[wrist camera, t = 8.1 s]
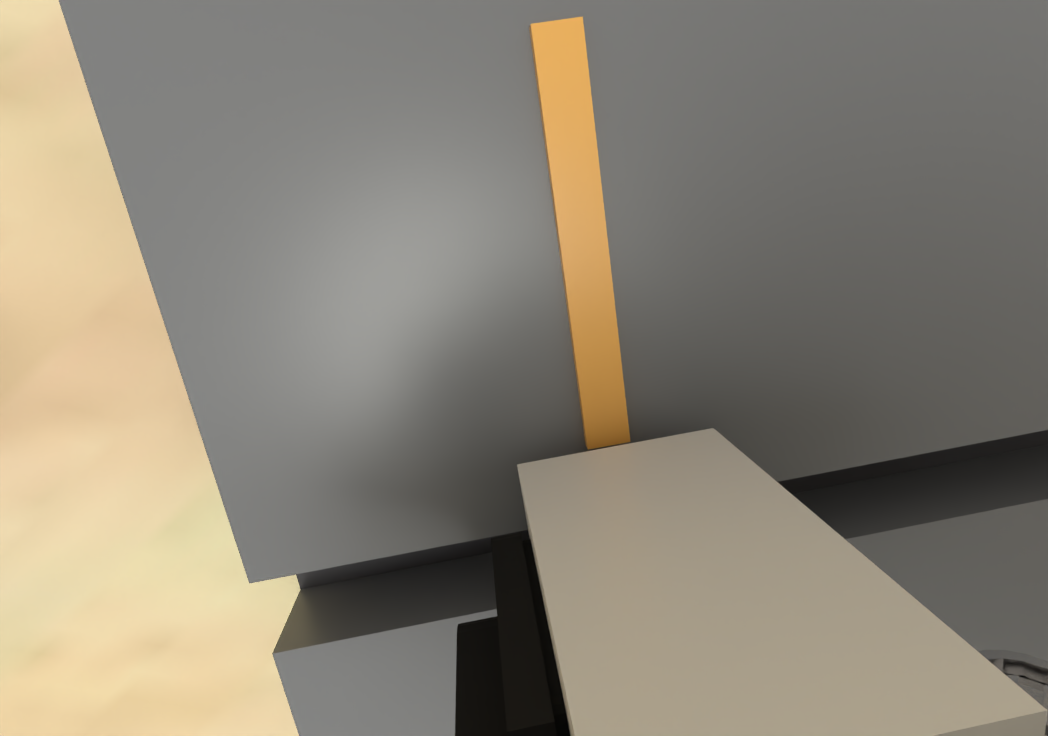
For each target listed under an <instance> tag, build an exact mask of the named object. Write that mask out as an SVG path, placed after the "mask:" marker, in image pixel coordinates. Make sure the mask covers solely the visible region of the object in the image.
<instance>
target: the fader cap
mask: <svg viewBox="0 0 1048 736" xmlns="http://www.w3.org/2000/svg"><path fill="white" fill-rule="evenodd" d="M517 467H518V473H519V479H520V485H521V491H522V497H523V502H524V508H525V514H526V520H527V526H528V532H529V538H530V539H531V544H532V549H533V554H534V558H535V563H536V568H537V573H538V578H539V583H540V588H541V592H542V597H543V602H544V607H545V612H546V617H547V622H548V626H549V631H550V636H551V641H552V646H553V651H554V656H555V660H556V665H557V670H558V675H559V680H560V685H561V689H562V694H563V699H564V704H565V709H566V715H567V720H568V726H569V731H570V736H1045V728H1046V719H1047V709H1045V708H1044V707H1043V706H1042V705H1041V704H1039V703H1038V702H1037V701H1036V700H1035V699H1034V698H1032V697H1031V696H1030V695H1029V694H1028V693H1026V692H1025V691H1024V690H1023V689H1022V688H1021V687H1019V686H1018V685H1017V684H1016V683H1015V682H1013V681H1012V680H1011V679H1010V678H1009V677H1007V676H1006V675H1005V674H1004V673H1003V672H1002V671H1000V670H999V669H998V668H997V667H996V666H994V665H993V664H992V663H991V662H990V661H989V660H987V659H986V658H985V657H984V656H983V655H981V654H980V653H979V652H978V651H977V650H976V649H974V648H973V647H972V646H971V645H970V644H968V643H967V642H966V641H965V640H964V639H963V638H961V637H960V636H959V635H958V634H957V633H955V632H954V631H953V630H952V629H951V628H949V627H948V626H947V625H946V624H945V623H944V622H942V621H941V620H940V619H939V618H938V617H936V616H935V615H934V614H933V613H932V612H931V611H929V610H928V609H927V608H926V607H925V606H923V605H922V604H921V603H920V602H919V601H918V600H916V599H915V598H914V597H913V596H912V595H910V594H909V593H908V592H907V591H906V590H905V589H903V588H902V587H901V586H900V585H899V584H897V583H896V582H895V581H894V580H893V579H891V578H890V577H889V576H888V575H887V574H886V573H884V572H883V571H882V570H881V569H880V568H878V567H877V566H876V565H875V564H874V563H873V562H871V561H870V560H869V559H868V558H867V557H865V556H864V555H863V554H862V553H861V552H860V551H858V550H857V549H856V548H855V547H854V546H852V545H851V544H850V543H849V542H848V541H846V540H845V539H844V538H843V537H842V536H841V535H839V534H838V533H837V532H836V531H835V530H833V529H832V528H831V527H830V526H829V525H828V524H826V523H825V522H824V521H823V520H822V519H820V518H819V517H818V516H817V515H816V514H815V513H813V512H812V511H811V510H810V509H809V508H807V507H806V506H805V505H804V504H803V503H802V502H800V501H799V500H798V499H797V498H796V497H794V496H793V495H792V494H791V493H790V492H788V491H787V490H786V489H785V488H784V487H783V486H781V485H780V484H779V483H778V482H777V481H775V480H774V479H773V478H772V477H771V476H770V475H768V474H767V473H766V472H765V471H764V470H762V469H761V468H760V467H759V466H758V465H757V464H755V463H754V462H753V461H752V460H751V459H749V458H748V457H747V456H746V455H745V454H744V453H742V452H741V451H740V450H739V449H738V448H736V447H735V446H734V445H733V444H732V443H730V442H729V441H728V440H727V439H726V438H725V437H723V436H722V435H721V434H720V433H719V432H717V431H716V430H715V429H714V428H710V429H705V430H700V431H694V432H689V433H683V434H678V435H673V436H667V437H662V438H656V439H651V440H646V441H640V442H635V443H630V444H624V445H619V446H613V447H608V448H603V449H597V450H592V451H586V452H581V453H576V454H570V455H565V456H559V457H554V458H549V459H543V460H538V461H532V462H527V463H522V464H517Z"/></svg>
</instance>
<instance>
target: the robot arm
mask: <svg viewBox="0 0 1048 736" xmlns="http://www.w3.org/2000/svg"><path fill="white" fill-rule="evenodd" d="M491 546H492V558H493V570H494V582H495V594H496V607H497V616H495V617H490V618H485V619H480V620H475V621H470V622H465V623H460V624H458V626H457V651H456V707H455V736H570V731H569V726H568V720H567V715H566V709H565V704H564V699H563V694H562V689H561V685H560V680H559V675H558V670H557V665H556V660H555V656H554V651H553V646H552V641H551V636H550V631H549V626H548V622H547V617H546V612H545V607H544V602H543V597H542V592H541V588H540V583H539V578H538V573H537V568H536V563H535V558H534V554H533V549H532V544H531V539H527V540H522V537H521V532H519V533H514V534H509V535H504V536H498V537H493V538H491ZM978 652H979V653H980V654H981V655H983V656H984V657H985V658H986V659H987V660H989V661H990V662H991V663H992V664H993V665H994V666H996V667H997V668H998V669H999V670H1000V671H1002V672H1003V673H1004V674H1005V675H1006V676H1007V677H1009V678H1010V679H1011V680H1012V681H1013V682H1015V683H1016V684H1017V685H1018V686H1019V687H1021V688H1022V689H1023V690H1024V691H1025V692H1026V693H1028V694H1029V695H1030V696H1031V697H1032V698H1034V699H1035V700H1036V701H1037V702H1038V703H1039V704H1041V705H1042V706H1043V707H1044V708H1045V709H1047V719H1046V728H1045V736H1048V661H1046V660H1043V659H1040V658H1037V657H1034V656H1032V655H1029V654H1024V653H1019V652H1014V651H1009V650H982V651H978Z"/></svg>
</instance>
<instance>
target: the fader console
mask: <svg viewBox="0 0 1048 736" xmlns="http://www.w3.org/2000/svg"><path fill="white" fill-rule="evenodd" d="M59 3H60V6H61V9H62V12H63V15H64V18H65V21H66V24H67V27H68V30H69V33H70V36H71V39H72V42H73V45H74V48H75V51H76V54H77V58H78V61H79V64H80V67H81V70H82V73H83V76H84V79H85V82H86V85H87V88H88V91H89V94H90V97H91V100H92V103H93V106H94V110H95V113H96V116H97V119H98V122H99V125H100V128H101V131H102V134H103V137H104V140H105V143H106V146H107V149H108V152H109V155H110V158H111V162H112V165H113V168H114V171H115V174H116V177H117V180H118V183H119V186H120V189H121V192H122V195H123V198H124V201H125V204H126V207H127V210H128V214H129V217H130V220H131V223H132V226H133V229H134V232H135V235H136V238H137V241H138V244H139V247H140V250H141V253H142V256H143V259H144V262H145V266H146V269H147V272H148V275H149V278H150V281H151V284H152V287H153V290H154V293H155V296H156V299H157V302H158V305H159V308H160V311H161V314H162V317H163V321H164V324H165V327H166V330H167V333H168V336H169V339H170V342H171V345H172V348H173V351H174V354H175V357H176V360H177V363H178V366H179V369H180V373H181V376H182V379H183V382H184V385H185V388H186V391H187V394H188V397H189V400H190V403H191V406H192V409H193V412H194V415H195V418H196V421H197V425H198V428H199V431H200V434H201V437H202V440H203V443H204V446H205V449H206V452H207V455H208V458H209V461H210V464H211V467H212V470H213V473H214V477H215V480H216V483H217V486H218V489H219V492H220V495H221V498H222V501H223V504H224V507H225V510H226V513H227V516H228V519H229V522H230V525H231V529H232V532H233V535H234V538H235V541H236V544H237V547H238V550H239V553H240V556H241V559H242V562H243V565H244V568H245V571H246V574H247V577H248V581H249V583H254V582H259V581H264V580H269V579H274V578H280V577H285V576H290V575H295V574H296V575H297V579H298V582H299V585H300V589H301V590H300V592H299V595H298V597H297V599H296V601H295V604H294V606H293V608H292V610H291V613H290V615H289V617H288V620H287V622H286V624H285V626H284V629H283V631H282V633H281V635H280V638H279V640H278V642H277V645H276V647H275V649H274V651H273V657H274V660H275V663H276V666H277V669H278V672H279V675H280V678H281V681H282V684H283V688H284V691H285V694H286V697H287V700H288V703H289V706H290V709H291V712H292V715H293V718H294V721H295V724H296V727H297V730H298V733H299V736H455V707H456V651H457V626H458V624H460V623H465V622H470V621H475V620H480V619H485V618H490V617H495V616H497V607H496V594H495V582H494V570H493V558H492V546H491V538H493V537H498V536H504V535H509V534H514V533H519V532H521V537H522V540H527V539H530V538H529V532H528V526H527V520H526V514H525V508H524V502H523V497H522V491H521V485H520V479H519V473H518V467H517V464H522V463H527V462H532V461H538V460H543V459H549V458H554V457H559V456H565V455H570V454H576V453H581V452H586V451H592V450H597V449H603V448H608V447H613V446H619V445H624V444H630V443H635V442H640V441H646V440H651V439H656V438H662V437H667V436H673V435H678V434H683V433H689V432H694V431H700V430H705V429H710V428H714V429H715V430H716V431H717V432H719V433H720V434H721V435H722V436H723V437H725V438H726V439H727V440H728V441H729V442H730V443H732V444H733V445H734V446H735V447H736V448H738V449H739V450H740V451H741V452H742V453H744V454H745V455H746V456H747V457H748V458H749V459H751V460H752V461H753V462H754V463H755V464H757V465H758V466H759V467H760V468H761V469H762V470H764V471H765V472H766V473H767V474H768V475H770V476H771V477H772V478H773V479H774V480H775V481H777V482H778V483H779V484H780V485H781V486H783V487H784V488H785V489H786V490H787V491H788V492H790V493H791V494H792V495H793V496H794V497H796V498H797V499H798V500H799V501H800V502H802V503H803V504H804V505H805V506H806V507H807V508H809V509H810V510H811V511H812V512H813V513H815V514H816V515H817V516H818V517H819V518H820V519H822V520H823V521H824V522H825V523H826V524H828V525H829V526H830V527H831V528H832V529H833V530H835V531H836V532H837V533H838V534H839V535H841V536H842V537H843V538H844V539H845V540H846V541H848V542H849V543H850V544H851V545H852V546H854V547H855V548H856V549H857V550H858V551H860V552H861V553H862V554H863V555H864V556H865V557H867V558H868V559H869V560H870V561H871V562H873V563H874V564H875V565H876V566H877V567H878V568H880V569H881V570H882V571H883V572H884V573H886V574H887V575H888V576H889V577H890V578H891V579H893V580H894V581H895V582H896V583H897V584H899V585H900V586H901V587H902V588H903V589H905V590H906V591H907V592H908V593H909V594H910V595H912V596H913V597H914V598H915V599H916V600H918V601H919V602H920V603H921V604H922V605H923V606H925V607H926V608H927V609H928V610H929V611H931V612H932V613H933V614H934V615H935V616H936V617H938V618H939V619H940V620H941V621H942V622H944V623H945V624H946V625H947V626H948V627H949V628H951V629H952V630H953V631H954V632H955V633H957V634H958V635H959V636H960V637H961V638H963V639H964V640H965V641H966V642H967V643H968V644H970V645H971V646H972V647H973V648H974V649H976V650H977V651H982V650H1009V651H1014V652H1019V653H1024V654H1029V655H1032V656H1034V657H1037V658H1040V659H1043V660H1046V661H1048V0H59Z"/></svg>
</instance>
